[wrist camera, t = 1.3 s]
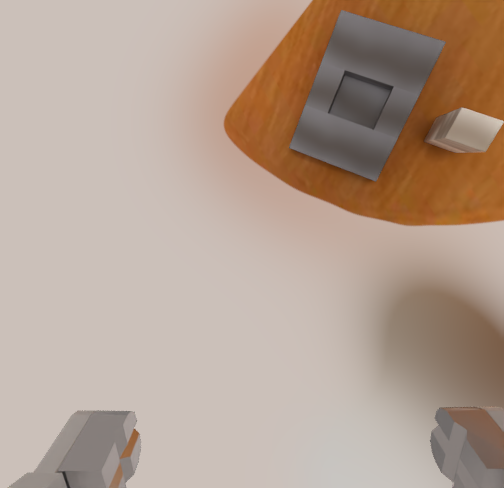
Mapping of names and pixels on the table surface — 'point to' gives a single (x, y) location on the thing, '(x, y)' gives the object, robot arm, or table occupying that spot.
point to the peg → (463, 131)
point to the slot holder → (364, 93)
